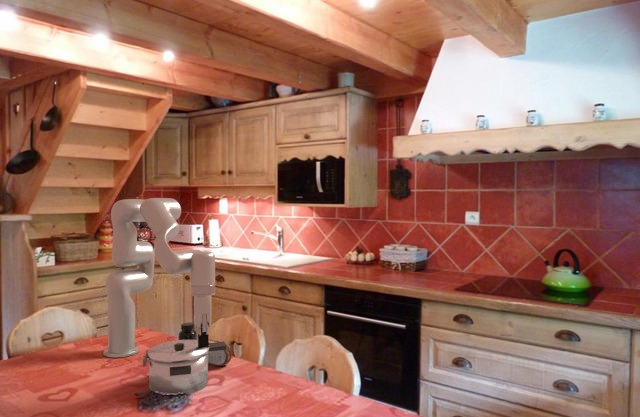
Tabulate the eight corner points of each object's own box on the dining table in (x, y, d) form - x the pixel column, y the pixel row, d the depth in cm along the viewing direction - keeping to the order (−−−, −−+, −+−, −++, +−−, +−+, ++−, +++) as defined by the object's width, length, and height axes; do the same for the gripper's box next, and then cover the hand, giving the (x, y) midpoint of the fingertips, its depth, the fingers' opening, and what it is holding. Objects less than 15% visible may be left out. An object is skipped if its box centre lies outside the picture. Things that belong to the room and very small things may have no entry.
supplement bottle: (189, 351, 181) (189, 320, 181) (200, 354, 177) (201, 323, 177) (174, 355, 176) (174, 324, 176) (186, 359, 172) (186, 327, 172)
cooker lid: (146, 347, 154) (146, 339, 154) (221, 338, 162) (221, 331, 162) (144, 366, 136) (144, 357, 136) (229, 356, 144) (228, 348, 144)
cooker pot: (144, 374, 156) (144, 345, 156) (204, 368, 163) (205, 340, 163) (141, 403, 134) (141, 369, 134) (211, 395, 140) (211, 363, 140)
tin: (231, 366, 166) (232, 342, 166) (226, 369, 163) (226, 345, 163) (198, 359, 172) (199, 336, 172) (193, 361, 170) (193, 338, 170)
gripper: (189, 286, 156) (190, 341, 156) (192, 294, 142) (192, 354, 142) (212, 285, 159) (212, 339, 159) (217, 293, 145) (217, 352, 145)
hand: (203, 346), depth 150 cm, fingers closed
